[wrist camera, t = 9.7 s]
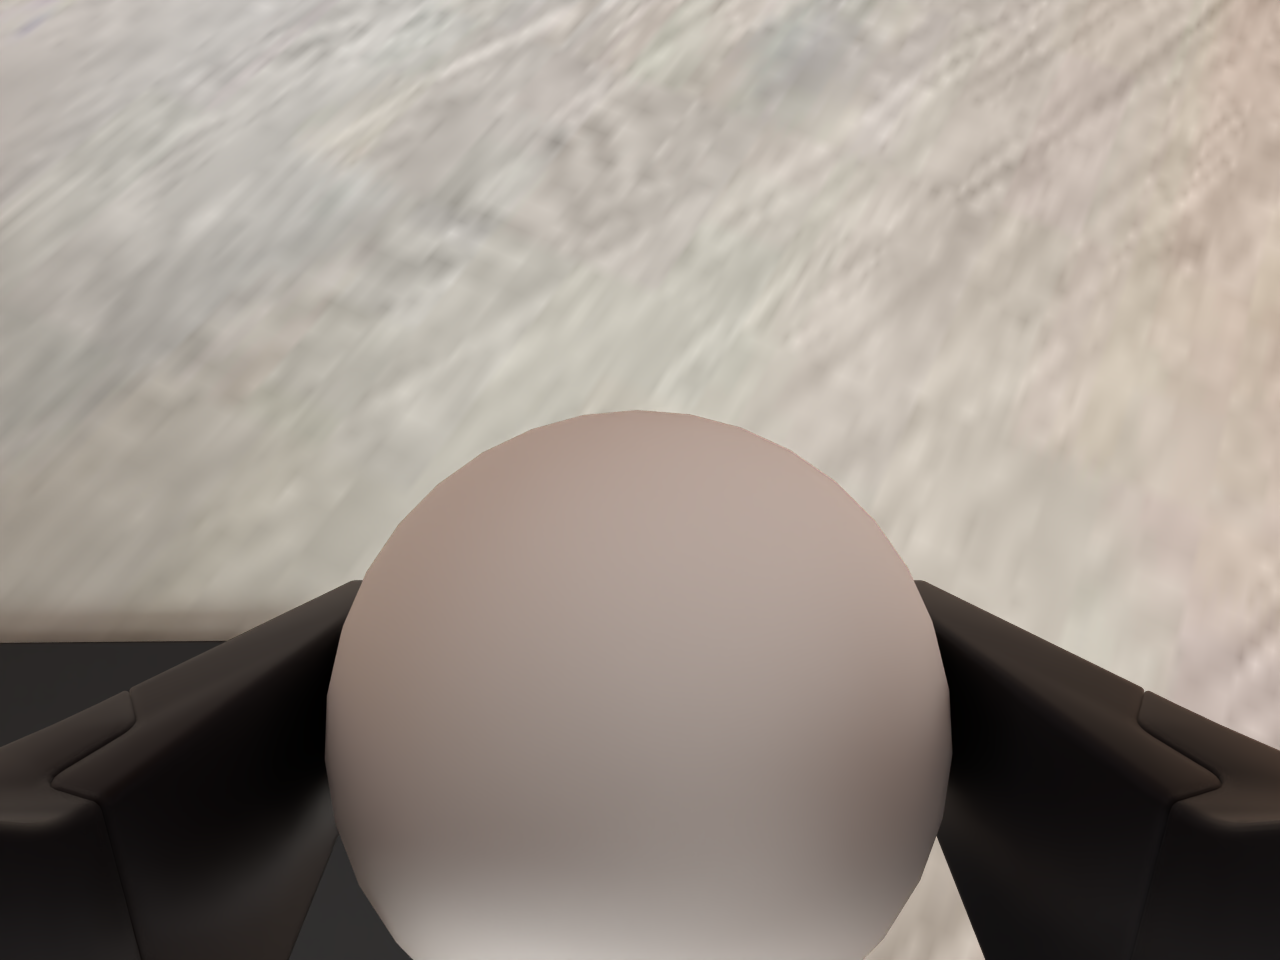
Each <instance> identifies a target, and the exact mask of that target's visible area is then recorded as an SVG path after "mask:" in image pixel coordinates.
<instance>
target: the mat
mask: <svg viewBox="0 0 1280 960" xmlns="http://www.w3.org/2000/svg"><path fill="white" fill-rule="evenodd" d="M224 642H226V641H167V642H52V643H0V747H2V746H5V745H7V744H9V743H12V742H14V741H16V740H19V739H21V738H23V737H26V736H28V735H30V734H32V733H35V732H37V731H39V730H42V729H44V728H46V727H49V726H51V725H53V724H55V723H58V722H60V721H62V720H64V719H66V718H68V717H70V716H73V715H75V714H77V713H79V712H81V711H83V710H85V709H88V708H90V707H92V706H94V705H96V704H98V703H100V702H102V701H104V700H107V699H109V698H111V697H113V696H115V695H117V694H119V693H121V692H123V691H128V692H129V693H130V689H131V688H132V687H134V686H136V685H138V684H140V683H142V682H144V681H146V680H148V679H150V678H152V677H154V676H156V675H158V674H160V673H163V672H165V671H167V670H169V669H171V668H173V667H175V666H177V665H179V664H181V663H183V662H185V661H187V660H189V659H191V658H193V657H196V656H198V655H200V654H202V653H204V652H206V651H208V650H210V649H212V648H214V647H216V646H218V645H220V644H222V643H224ZM289 960H413V959H412V958H411V957H410V956H409V955H408V954H407V953H406V952H405V951H404V950H403V949H402V948H401V947H400V946H399V945H398V944H397V943H396V941H395V940H394V938H393V937H392V935H391V934H390V932H389V931H388V929H387V928H386V926H385V924H384V923H383V921H382V920H381V918H380V917H379V915H378V914H377V912H376V911H375V909H374V907H373V906H372V904H371V903H370V901H369V900H368V898H367V897H366V895H365V894H364V892H363V891H362V889H361V887H360V886H359V884H358V881H357V879H356V876H355V873H354V871H353V868H352V865H351V863H350V860H349V858H348V855H347V852H346V850H345V847H344V845H343V842H342V839H341V837H340V834H339V835H338V838H337V840H336V843H335V845H334V848H333V850H332V853H331V855H330V858H329V860H328V863H327V865H326V868H325V870H324V873H323V875H322V878H321V880H320V883H319V885H318V888H317V890H316V893H315V895H314V898H313V900H312V903H311V905H310V908H309V910H308V913H307V915H306V918H305V920H304V923H303V925H302V928H301V930H300V933H299V935H298V938H297V941H296V943H295V946H294V948H293V951H292V953H291V956H290V958H289Z"/></svg>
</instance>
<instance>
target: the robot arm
mask: <svg viewBox="0 0 1280 960" xmlns="http://www.w3.org/2000/svg"><path fill="white" fill-rule="evenodd" d="M362 581H363V580H354V581H350V582H348V583H346V584H344V585H342V586H340V587H338V588H336V589H334V590H332V591H330V592H328V593H325V594H323V595H321V596H319V597H317V598H315V599H313V600H311V601H309V602H307V603H305V604H303V605H301V606H299V607H297V608H295V609H292V610H290V611H288V612H286V613H284V614H282V615H280V616H278V617H276V618H274V619H272V620H270V621H268V622H266V623H264V624H262V625H259V626H257V627H255V628H253V629H251V630H249V631H247V632H245V633H243V634H241V635H239V636H237V637H235V638H233V639H231V640H229V641H226V642H224V643H222V644H220V645H218V646H216V647H214V648H212V649H210V650H208V651H206V652H204V653H202V654H200V655H198V656H196V657H193V658H191V659H189V660H187V661H185V662H183V663H181V664H179V665H177V666H175V667H173V668H171V669H169V670H167V671H165V672H163V673H160V674H158V675H156V676H154V677H152V678H150V679H148V680H146V681H144V682H142V683H140V684H138V685H136V686H134V687H132V688H131V689H130V693H129V692H128V691H123V692H121V693H119V694H117V695H115V696H113V697H111V698H109V699H107V700H104V701H102V702H100V703H98V704H96V705H94V706H92V707H90V708H88V709H85V710H83V711H81V712H79V713H77V714H75V715H73V716H70V717H68V718H66V719H64V720H62V721H60V722H58V723H55V724H53V725H51V726H49V727H46V728H44V729H42V730H39V731H37V732H35V733H32V734H30V735H28V736H26V737H23V738H21V739H19V740H16V741H14V742H12V743H9V744H7V745H5V746H2V747H0V960H289V958H290V956H291V953H292V951H293V948H294V946H295V943H296V941H297V938H298V935H299V933H300V930H301V928H302V925H303V923H304V920H305V918H306V915H307V913H308V910H309V908H310V905H311V903H312V900H313V898H314V895H315V893H316V890H317V888H318V885H319V883H320V880H321V878H322V875H323V873H324V870H325V868H326V865H327V863H328V860H329V858H330V855H331V853H332V850H333V848H334V845H335V843H336V840H337V838H338V835H339V832H338V829H337V826H336V824H335V818H334V812H333V806H332V800H331V794H330V788H329V782H328V776H327V770H326V764H325V734H326V703H327V693H328V688H329V684H330V680H331V675H332V671H333V666H334V662H335V658H336V653H337V649H338V644H339V640H340V636H341V632H342V628H343V625H344V623H345V620H346V618H347V616H348V613H349V611H350V609H351V607H352V604H353V602H354V600H355V597H356V595H357V593H358V590H359V588H360V586H361V584H362ZM914 582H915V584H916V587H917V589H918V591H919V593H920V595H921V598H922V600H923V602H924V604H925V606H926V609H927V611H928V613H929V615H930V617H931V620H932V622H933V626H934V630H935V634H936V638H937V642H938V646H939V650H940V654H941V658H942V662H943V667H944V671H945V675H946V679H947V683H948V687H949V693H950V714H951V735H952V760H951V767H950V773H949V780H948V787H947V793H946V800H945V807H944V814H943V819H942V822H941V824H940V827H939V830H938V832H937V835H936V836H937V838H938V841H939V843H940V846H941V848H942V851H943V854H944V856H945V859H946V861H947V864H948V866H949V869H950V871H951V874H952V876H953V879H954V881H955V884H956V887H957V889H958V892H959V894H960V897H961V899H962V902H963V904H964V907H965V909H966V912H967V914H968V917H969V920H970V922H971V925H972V927H973V930H974V932H975V935H976V937H977V940H978V942H979V945H980V947H981V950H982V953H983V955H984V958H985V960H1280V750H1277V749H1275V748H1272V747H1270V746H1268V745H1266V744H1263V743H1261V742H1259V741H1256V740H1254V739H1252V738H1249V737H1247V736H1245V735H1243V734H1240V733H1238V732H1236V731H1233V730H1231V729H1229V728H1227V727H1224V726H1222V725H1220V724H1218V723H1215V722H1213V721H1211V720H1209V719H1207V718H1205V717H1203V716H1201V715H1198V714H1196V713H1194V712H1192V711H1190V710H1188V709H1186V708H1183V707H1181V706H1179V705H1177V704H1175V703H1173V702H1171V701H1169V700H1167V699H1165V698H1163V697H1161V696H1159V695H1157V694H1155V693H1153V692H1151V691H1146V692H1144V689H1143V688H1142V687H1140V686H1138V685H1136V684H1134V683H1132V682H1130V681H1128V680H1126V679H1124V678H1122V677H1119V676H1117V675H1115V674H1113V673H1111V672H1109V671H1107V670H1105V669H1103V668H1101V667H1099V666H1097V665H1095V664H1093V663H1091V662H1089V661H1087V660H1085V659H1083V658H1081V657H1079V656H1076V655H1074V654H1072V653H1070V652H1068V651H1066V650H1064V649H1062V648H1060V647H1058V646H1056V645H1054V644H1052V643H1050V642H1048V641H1046V640H1044V639H1042V638H1040V637H1038V636H1036V635H1034V634H1032V633H1029V632H1027V631H1025V630H1023V629H1021V628H1019V627H1017V626H1015V625H1013V624H1011V623H1009V622H1007V621H1005V620H1003V619H1001V618H999V617H997V616H995V615H993V614H991V613H989V612H987V611H984V610H982V609H980V608H978V607H976V606H974V605H972V604H970V603H968V602H966V601H964V600H962V599H960V598H958V597H956V596H954V595H952V594H950V593H948V592H946V591H944V590H942V589H939V588H937V587H935V586H933V585H931V584H929V583H927V582H925V581H921V580H914Z"/></svg>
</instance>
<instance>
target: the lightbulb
mask: <svg viewBox="0 0 1280 960" xmlns="http://www.w3.org/2000/svg"><path fill="white" fill-rule="evenodd" d="M951 760H952V735H951V714H950V693H949V687H948V683H947V679H946V675H945V671H944V667H943V662H942V658H941V654H940V650H939V646H938V642H937V638H936V634H935V630H934V626H933V622H932V620H931V617H930V615H929V613H928V611H927V609H926V606H925V604H924V602H923V600H922V598H921V595H920V593H919V591H918V589H917V587H916V584H915V582H914V580H913V578H912V576H911V573H910V571H909V569H908V567H907V566H906V564H905V563H904V561H903V560H902V558H901V557H900V556H899V554H898V553H897V551H896V550H895V548H894V547H893V546H892V544H891V543H890V541H889V540H888V538H887V537H886V536H885V534H884V533H883V531H882V530H881V528H880V527H879V526H878V524H877V523H876V521H875V520H874V519H873V518H872V517H871V516H870V515H869V514H868V513H867V512H866V511H865V510H864V509H863V508H862V507H861V506H860V505H859V504H858V503H857V502H856V501H855V500H854V499H853V498H852V497H851V496H850V495H849V494H848V493H847V492H846V491H845V490H844V489H843V488H842V487H841V486H840V485H839V484H838V483H837V482H836V481H834V480H833V479H831V478H830V477H828V476H827V475H826V474H824V473H823V472H821V471H820V470H818V469H817V468H815V467H814V466H813V465H811V464H810V463H808V462H807V461H805V460H804V459H802V458H801V457H799V456H798V455H797V454H795V453H794V452H792V451H791V450H789V449H787V448H784V447H782V446H780V445H778V444H776V443H773V442H771V441H769V440H767V439H765V438H762V437H760V436H758V435H756V434H754V433H751V432H749V431H747V430H745V429H743V428H740V427H736V426H732V425H728V424H725V423H721V422H717V421H713V420H709V419H705V418H701V417H698V416H694V415H690V414H678V413H666V412H653V411H641V410H633V411H622V412H611V413H601V414H590V415H582V416H578V417H575V418H571V419H567V420H564V421H560V422H557V423H553V424H549V425H546V426H542V427H538V428H535V429H531V430H529V431H527V432H525V433H523V434H521V435H519V436H517V437H514V438H512V439H510V440H508V441H506V442H504V443H502V444H500V445H498V446H495V447H493V448H491V449H489V450H487V451H485V452H483V453H481V454H480V455H479V456H477V457H476V458H474V459H473V460H471V461H470V462H469V463H467V464H466V465H464V466H463V467H462V468H460V469H459V470H457V471H456V472H455V473H453V474H452V475H450V476H449V477H448V478H446V479H445V480H443V481H442V482H441V483H439V484H438V485H437V486H436V487H435V488H434V489H433V490H432V491H431V492H430V493H429V494H428V495H427V496H426V497H425V498H424V499H423V500H422V501H421V502H420V503H419V504H418V505H417V506H416V507H415V508H414V509H413V510H412V511H411V512H410V513H409V514H408V515H407V516H406V517H405V519H404V520H403V521H402V522H401V523H400V524H399V525H398V526H397V528H396V529H395V531H394V532H393V534H392V535H391V537H390V538H389V540H388V541H387V542H386V544H385V545H384V547H383V548H382V550H381V551H380V553H379V554H378V556H377V557H376V559H375V560H374V562H373V563H372V565H371V566H370V568H369V569H368V571H367V572H366V574H365V577H364V579H363V581H362V584H361V586H360V588H359V590H358V593H357V595H356V597H355V600H354V602H353V604H352V607H351V609H350V611H349V613H348V616H347V618H346V620H345V623H344V625H343V628H342V632H341V636H340V640H339V644H338V649H337V653H336V658H335V662H334V666H333V671H332V675H331V680H330V684H329V688H328V693H327V703H326V734H325V764H326V770H327V776H328V782H329V788H330V794H331V800H332V806H333V812H334V818H335V824H336V826H337V829H338V832H339V834H340V837H341V839H342V842H343V845H344V847H345V850H346V852H347V855H348V858H349V860H350V863H351V865H352V868H353V871H354V873H355V876H356V879H357V881H358V884H359V886H360V887H361V889H362V891H363V892H364V894H365V895H366V897H367V898H368V900H369V901H370V903H371V904H372V906H373V907H374V909H375V911H376V912H377V914H378V915H379V917H380V918H381V920H382V921H383V923H384V924H385V926H386V928H387V929H388V931H389V932H390V934H391V935H392V937H393V938H394V940H395V941H396V943H397V944H398V945H399V946H400V947H401V948H402V949H403V950H404V951H405V952H406V953H407V954H408V955H409V956H410V957H411V958H412V959H413V960H863V959H864V958H865V957H866V956H867V955H868V954H869V953H870V952H871V951H872V950H873V949H874V948H875V947H876V946H877V945H878V944H879V943H880V942H881V941H882V940H883V938H884V937H885V936H886V934H887V932H888V931H889V929H890V928H891V926H892V924H893V923H894V921H895V920H896V918H897V916H898V915H899V913H900V912H901V910H902V908H903V907H904V905H905V904H906V902H907V900H908V899H909V897H910V896H911V894H912V892H913V891H914V889H915V887H916V886H917V884H918V883H919V881H920V879H921V876H922V874H923V871H924V868H925V865H926V863H927V860H928V857H929V854H930V852H931V849H932V846H933V843H934V841H935V838H936V835H937V832H938V830H939V827H940V824H941V822H942V819H943V814H944V807H945V800H946V793H947V787H948V780H949V773H950V767H951Z"/></svg>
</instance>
